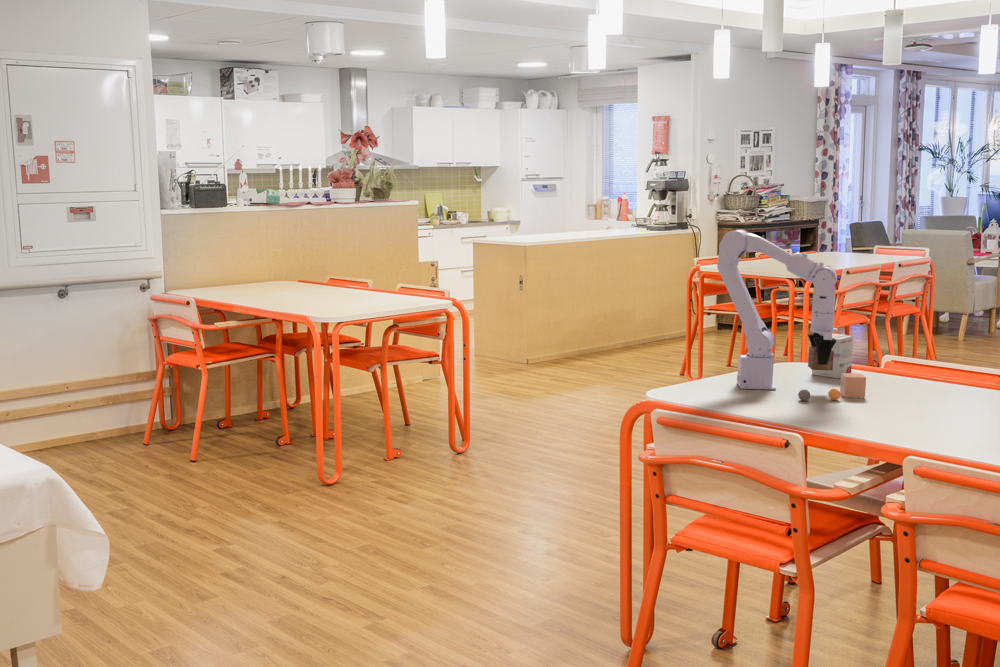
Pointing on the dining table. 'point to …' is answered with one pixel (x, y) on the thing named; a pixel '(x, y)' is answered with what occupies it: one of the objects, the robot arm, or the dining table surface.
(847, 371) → the ink box
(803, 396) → the ball left
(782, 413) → the dining table surface
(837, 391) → the orange ball
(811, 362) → the brown block
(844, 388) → the salmon pink block
